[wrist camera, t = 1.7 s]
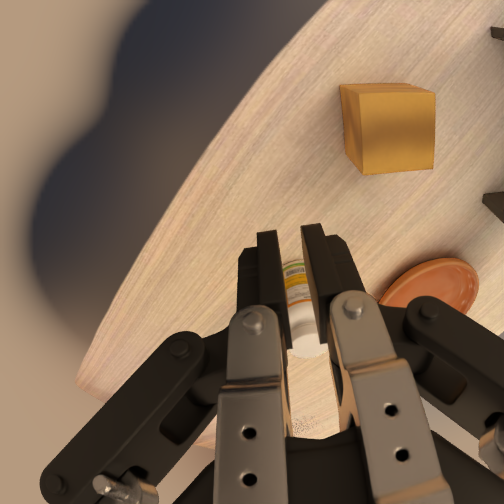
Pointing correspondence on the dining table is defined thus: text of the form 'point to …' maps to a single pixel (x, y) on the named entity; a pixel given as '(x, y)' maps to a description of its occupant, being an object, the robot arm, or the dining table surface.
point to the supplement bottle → (301, 313)
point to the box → (388, 127)
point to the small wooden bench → (498, 202)
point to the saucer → (436, 284)
